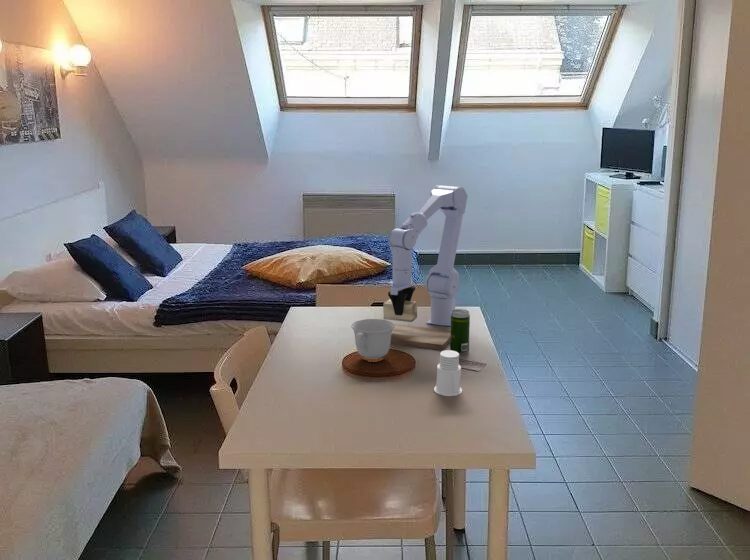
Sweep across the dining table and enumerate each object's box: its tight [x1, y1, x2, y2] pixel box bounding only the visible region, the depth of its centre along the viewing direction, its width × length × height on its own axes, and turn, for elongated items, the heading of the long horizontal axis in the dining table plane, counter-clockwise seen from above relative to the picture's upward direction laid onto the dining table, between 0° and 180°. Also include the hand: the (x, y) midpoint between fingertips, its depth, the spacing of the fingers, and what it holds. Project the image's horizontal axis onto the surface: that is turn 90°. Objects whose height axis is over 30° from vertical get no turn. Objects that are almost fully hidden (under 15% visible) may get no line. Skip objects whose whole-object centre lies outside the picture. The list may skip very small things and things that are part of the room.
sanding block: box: [382, 298, 418, 323], centre depth 220 cm, size 5×9×5 cm, turn 67°
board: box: [390, 323, 451, 351], centre depth 220 cm, size 14×20×2 cm
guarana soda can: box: [449, 308, 471, 356], centre depth 207 cm, size 5×5×12 cm
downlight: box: [433, 349, 463, 397], centre depth 179 cm, size 8×7×10 cm
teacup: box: [350, 318, 395, 359], centre depth 200 cm, size 12×15×10 cm
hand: (401, 312), depth 220 cm, fingers closed on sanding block, 5 cm apart
